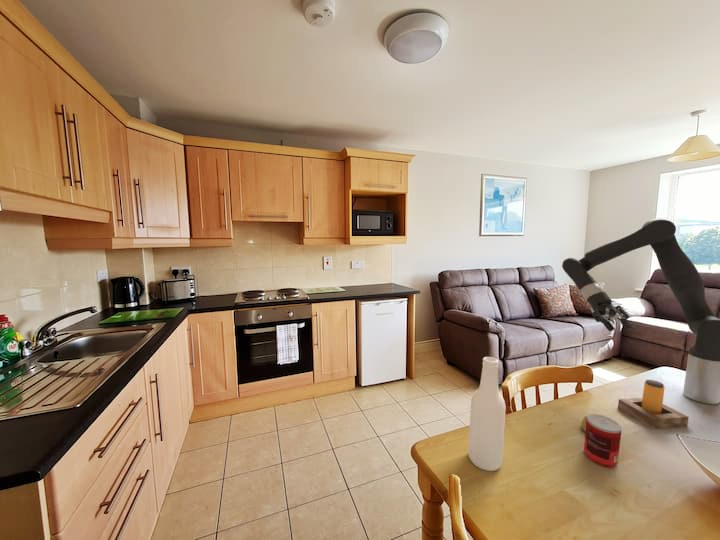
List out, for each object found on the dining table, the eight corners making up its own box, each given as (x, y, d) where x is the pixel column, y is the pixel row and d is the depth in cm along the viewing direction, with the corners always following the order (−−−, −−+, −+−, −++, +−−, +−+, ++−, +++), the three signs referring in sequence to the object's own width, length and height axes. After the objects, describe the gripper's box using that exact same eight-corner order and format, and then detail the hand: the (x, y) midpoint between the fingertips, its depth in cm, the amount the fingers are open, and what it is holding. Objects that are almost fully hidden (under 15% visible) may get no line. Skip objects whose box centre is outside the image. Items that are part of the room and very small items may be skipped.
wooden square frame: (648, 406, 110) (649, 397, 110) (687, 426, 98) (688, 416, 98) (617, 407, 109) (618, 399, 108) (652, 428, 97) (654, 419, 96)
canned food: (609, 451, 86) (613, 416, 85) (623, 471, 79) (628, 433, 78) (578, 445, 89) (582, 411, 88) (589, 464, 81) (593, 427, 80)
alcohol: (489, 477, 77) (495, 369, 73) (461, 456, 84) (466, 357, 81) (508, 464, 81) (515, 361, 78) (480, 445, 89) (486, 350, 85)
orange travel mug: (648, 412, 106) (653, 379, 105) (664, 420, 101) (669, 386, 100) (636, 412, 106) (640, 379, 104) (651, 421, 101) (656, 386, 99)
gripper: (588, 291, 122) (614, 326, 112) (615, 290, 125) (643, 324, 115) (575, 301, 128) (599, 335, 118) (602, 300, 130) (627, 332, 120)
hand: (621, 329), depth 116 cm, fingers open, 8 cm apart
